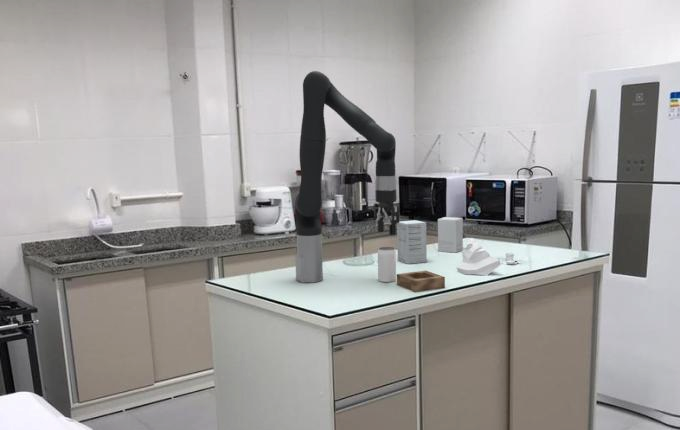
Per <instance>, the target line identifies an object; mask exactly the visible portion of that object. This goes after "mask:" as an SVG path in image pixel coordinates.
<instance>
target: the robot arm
mask: <svg viewBox="0 0 680 430" xmlns="http://www.w3.org/2000/svg"><path fill="white" fill-rule="evenodd" d="M302 96H303V97H302V98H303V99H302V101H303V108H302V109H303V112H302V119H301V128H300V137H299V138H300V139H299V166H300V168H299V169H300V183H299V184H300V186H299V191H298V193H297V195H296V197H295V200H294V214H295V218H294V219H295V229H296V231H295V232H296V254H295V256H294V257H295V280H297V281H298V282H299V283H317V282H321V281H323V280H324V276H323V275H324V273H323V271H324V270H323V268H324V267H323V266H324V265H323V237H322V236H323V235H322V234H323V233H322V231H323V229H322V228H323V227H322V222H321V209H322V205H323V200H322V175H323V169H324V162H325V157H326V156H325V155H326V147H327V146H326V145H327V131H326V123H325V111H324V110H325V105H326V106H327V107H329V108H330V109H332V110H333V111H334V112H335V113H336V114H337V115H338V116H340V118H341V119H342V120H343V121H344V122H345V123H346V124H348V126H349V127H351V128H352V129H353V130H354V131H355V132H357V134H359V135H361V136H362V137H363V138H365V140H366V141H368V143H369V144H370V145H372V147H373V148H375V149H376V161H375V181H374V183H375V185H374V189H375V195H374V196H375V203H374V204H373V205H374V206H373V208H374V209H373V219H374V220H376V222H377V232H379V233H383V232H385V224H384V223H385V222H384V220H387V221H388V224H389V225H388V231H389V233H388V234H389V235H390V236H396V235H397V234H396V232H397V223H399V222H400V207H399V206H397V205H394V202H397V179H396V160H395V159H396V148H397V147H396V145H397V144H396V138H395V136H394V135H393V134H392V133H390V132H388V131H386V130H385V129H384V128H383V127H382V126H380V125H379V124H378V123H377V122H376V121H375V120H374V119H373V117H371V116H370V115H369V114H367V113H366V112H365V111H364V110H363V109H361V108H360V107H359V106H357V105H356V104H354V103H353V102H352V101H351V100H349V99H348V98H347V97H345V96H344V95H343V94H342V93H341V92H340V91H339V89H337V88H336V86H335V85H334V84H333V83H332V81H331V80H330V78H329V77H328V76H327V75H325V74H324V73H323V72H321V71H317V70H313V71H310V72H308V73H307V74H306V76H305V77H304V79H303V82H302Z"/></svg>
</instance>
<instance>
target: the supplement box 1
mask: <svg viewBox="0 0 680 430" xmlns="http://www.w3.org/2000/svg"><path fill="white" fill-rule="evenodd" d="M396 232H397V234H396V235H397V237H396V238H397V242H396V243H397V244H396V245H397V261H398V262H400V263H404V264H407V265H410V264H411V265H412V264H420V263H421V264H423V263H427V252H428V251H427V250H428V249H427V248H428V247H427V222H425V221H420V220H416V219H414V220H402V221H400V220H399V223H397V224H396Z"/></svg>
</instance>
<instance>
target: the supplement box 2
mask: <svg viewBox="0 0 680 430" xmlns="http://www.w3.org/2000/svg"><path fill="white" fill-rule="evenodd" d="M463 220H464V219H463V217H455V216H454V217H449V216H444V217H441V218H438V219H437V248H438V249H437V252H441V253H442V252H445V253H458V252H462V250H464V241H463V239H464V236H463V235H464V233H463V231H464V230H463V229H464V227H463V226H464V225H463V224H464V223H463V222H464V221H463Z"/></svg>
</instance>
